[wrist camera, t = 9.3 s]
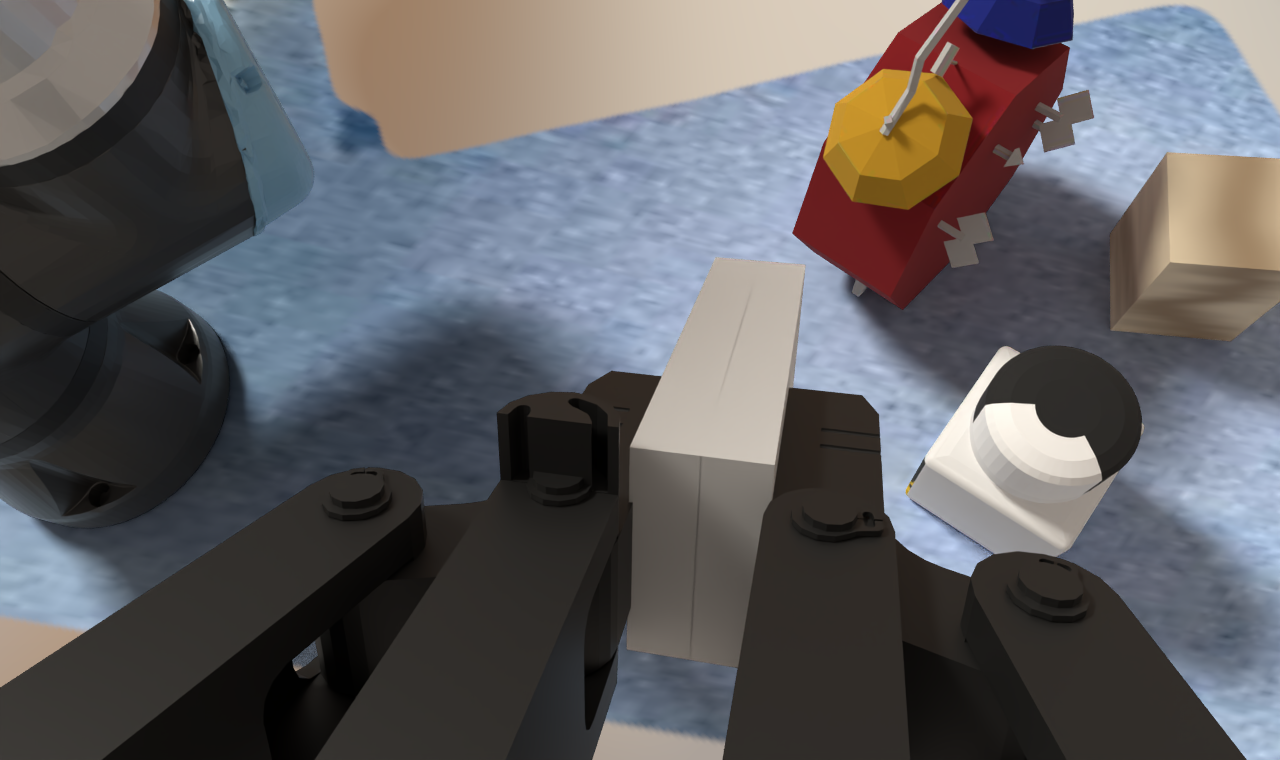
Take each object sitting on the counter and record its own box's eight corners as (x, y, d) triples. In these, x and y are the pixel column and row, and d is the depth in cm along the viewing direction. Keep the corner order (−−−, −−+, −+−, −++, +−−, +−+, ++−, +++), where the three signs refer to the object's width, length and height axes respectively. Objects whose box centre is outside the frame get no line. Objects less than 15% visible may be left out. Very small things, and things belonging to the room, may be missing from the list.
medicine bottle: (973, 391, 49) (1031, 296, 38) (1097, 464, 47) (1198, 386, 35) (901, 495, 47) (940, 428, 36) (1025, 576, 45) (1107, 531, 34)
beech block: (1110, 330, 49) (1170, 262, 42) (1109, 234, 51) (1167, 152, 43) (1230, 341, 48) (1314, 273, 40) (1225, 242, 50) (1304, 160, 42)
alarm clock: (936, 120, 55) (1018, -182, 36) (1063, 191, 52) (1222, -96, 34) (786, 294, 52) (794, 64, 34) (912, 379, 50) (994, 180, 31)
